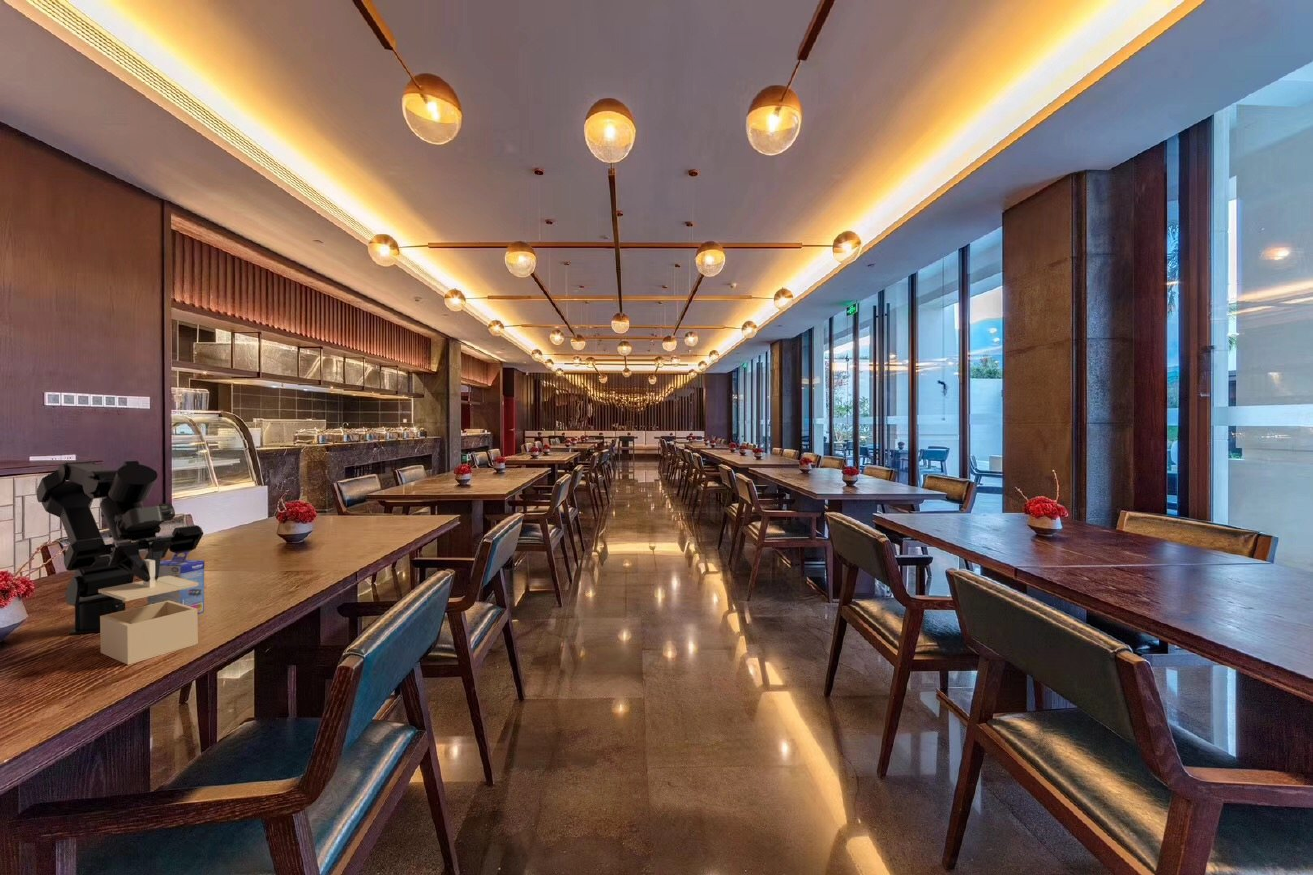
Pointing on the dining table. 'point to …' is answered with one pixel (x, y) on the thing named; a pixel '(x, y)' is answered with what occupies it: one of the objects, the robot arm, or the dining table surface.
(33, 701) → the dining table surface
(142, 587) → the carton lid
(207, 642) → the dining table surface
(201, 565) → the ink cartridge box
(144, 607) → the carton
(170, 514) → the robot arm
